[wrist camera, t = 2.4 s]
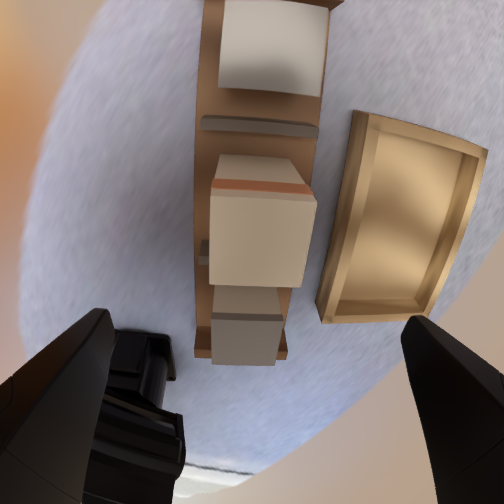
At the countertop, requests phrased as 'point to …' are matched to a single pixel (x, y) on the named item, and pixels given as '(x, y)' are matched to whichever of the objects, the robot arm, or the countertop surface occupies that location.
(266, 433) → the countertop surface
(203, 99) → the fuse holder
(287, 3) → the block
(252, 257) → the beige striped box
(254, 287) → the grey beige rectangular block
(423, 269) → the tray
